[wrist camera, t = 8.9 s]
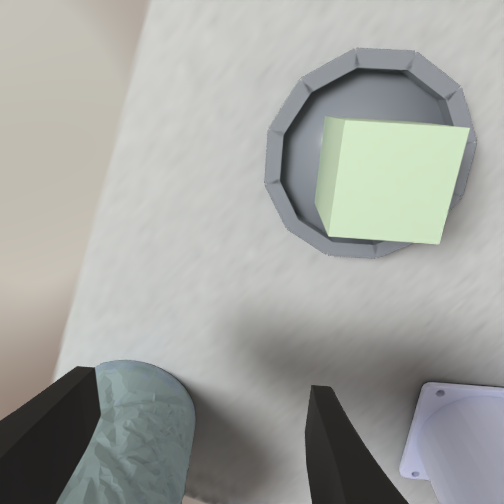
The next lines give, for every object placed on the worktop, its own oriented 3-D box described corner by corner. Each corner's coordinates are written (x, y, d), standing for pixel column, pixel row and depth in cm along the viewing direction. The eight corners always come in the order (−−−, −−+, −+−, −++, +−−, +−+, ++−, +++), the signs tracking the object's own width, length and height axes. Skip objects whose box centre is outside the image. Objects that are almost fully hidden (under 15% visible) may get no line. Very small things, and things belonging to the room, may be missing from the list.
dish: (476, 60, 16) (500, 54, 15) (429, 249, 20) (444, 263, 18) (273, 50, 17) (273, 43, 15) (261, 237, 20) (259, 250, 18)
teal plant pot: (43, 424, 26) (-129, 661, 15) (93, 319, 23) (-83, 528, 11) (172, 480, 27) (102, 736, 16) (237, 391, 24) (206, 638, 13)
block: (414, 121, 16) (469, 128, 12) (396, 208, 18) (439, 244, 13) (325, 116, 17) (345, 120, 12) (314, 202, 18) (328, 236, 13)
